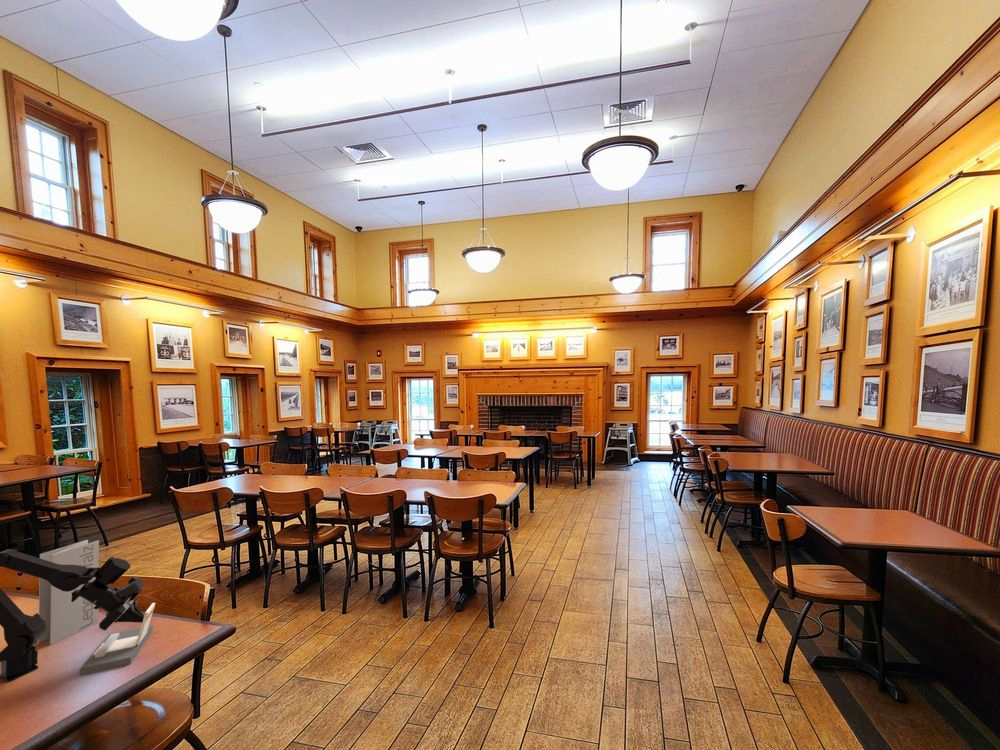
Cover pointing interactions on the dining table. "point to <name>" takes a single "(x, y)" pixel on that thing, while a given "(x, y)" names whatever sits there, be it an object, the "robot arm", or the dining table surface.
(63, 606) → the brochure
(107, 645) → the board
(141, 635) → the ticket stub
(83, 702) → the dining table surface
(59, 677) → the dining table surface
